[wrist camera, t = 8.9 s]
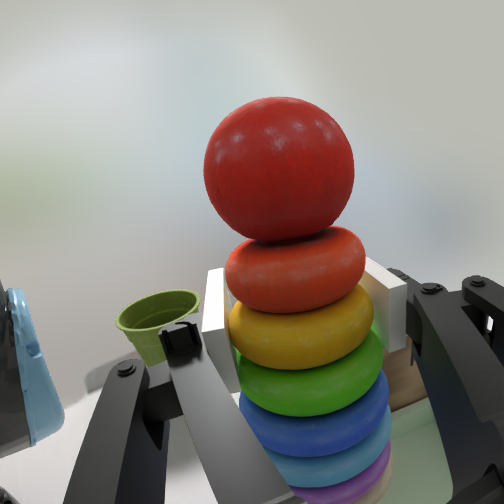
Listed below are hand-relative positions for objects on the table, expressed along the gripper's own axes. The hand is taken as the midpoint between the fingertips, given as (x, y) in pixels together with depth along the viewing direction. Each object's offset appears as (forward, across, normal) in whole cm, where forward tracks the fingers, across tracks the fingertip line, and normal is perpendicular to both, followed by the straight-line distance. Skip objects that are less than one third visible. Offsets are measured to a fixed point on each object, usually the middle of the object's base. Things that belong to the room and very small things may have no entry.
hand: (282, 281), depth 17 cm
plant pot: (+23, -14, -20) cm, 34 cm away
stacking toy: (-5, 0, -11) cm, 12 cm away
